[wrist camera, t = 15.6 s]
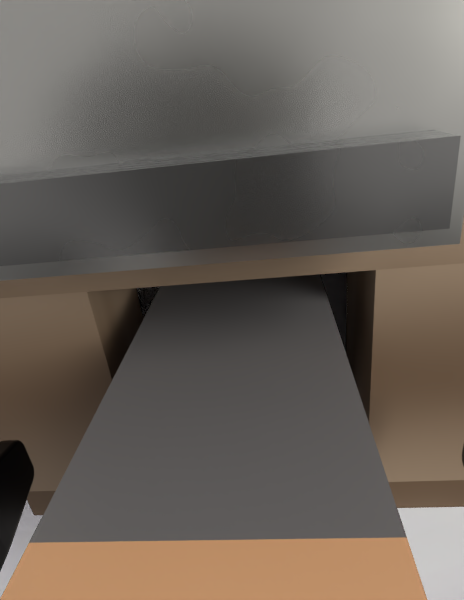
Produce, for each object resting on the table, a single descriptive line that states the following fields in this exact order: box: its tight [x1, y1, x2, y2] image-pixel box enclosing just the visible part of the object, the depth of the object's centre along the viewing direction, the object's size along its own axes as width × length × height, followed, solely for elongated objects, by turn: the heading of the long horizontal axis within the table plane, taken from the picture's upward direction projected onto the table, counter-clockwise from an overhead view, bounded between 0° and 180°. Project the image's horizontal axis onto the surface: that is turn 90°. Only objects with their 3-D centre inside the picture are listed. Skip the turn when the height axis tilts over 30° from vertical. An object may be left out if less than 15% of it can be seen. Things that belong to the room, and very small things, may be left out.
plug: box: [0, 274, 427, 600], centre depth 9 cm, size 4×4×9 cm
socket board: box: [0, 217, 464, 515], centre depth 10 cm, size 16×13×3 cm
